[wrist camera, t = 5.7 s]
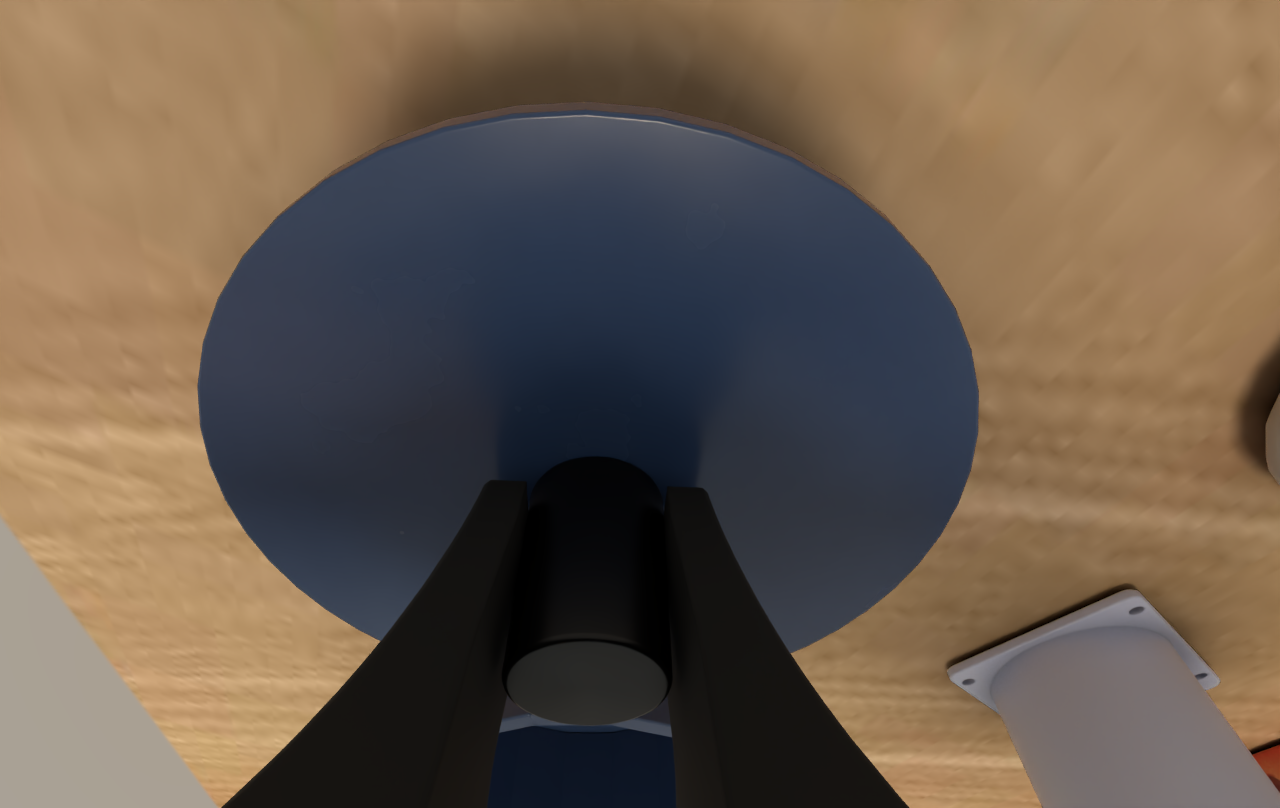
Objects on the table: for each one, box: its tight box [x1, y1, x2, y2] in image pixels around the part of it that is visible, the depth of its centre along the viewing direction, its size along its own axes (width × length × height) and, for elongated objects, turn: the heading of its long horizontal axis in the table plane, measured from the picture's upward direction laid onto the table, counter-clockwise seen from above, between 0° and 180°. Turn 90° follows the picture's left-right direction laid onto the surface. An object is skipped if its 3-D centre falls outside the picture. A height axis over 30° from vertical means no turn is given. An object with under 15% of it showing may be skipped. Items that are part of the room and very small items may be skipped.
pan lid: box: [198, 102, 979, 726], centre depth 11 cm, size 13×13×5 cm
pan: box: [487, 695, 676, 808], centre depth 25 cm, size 12×12×5 cm
